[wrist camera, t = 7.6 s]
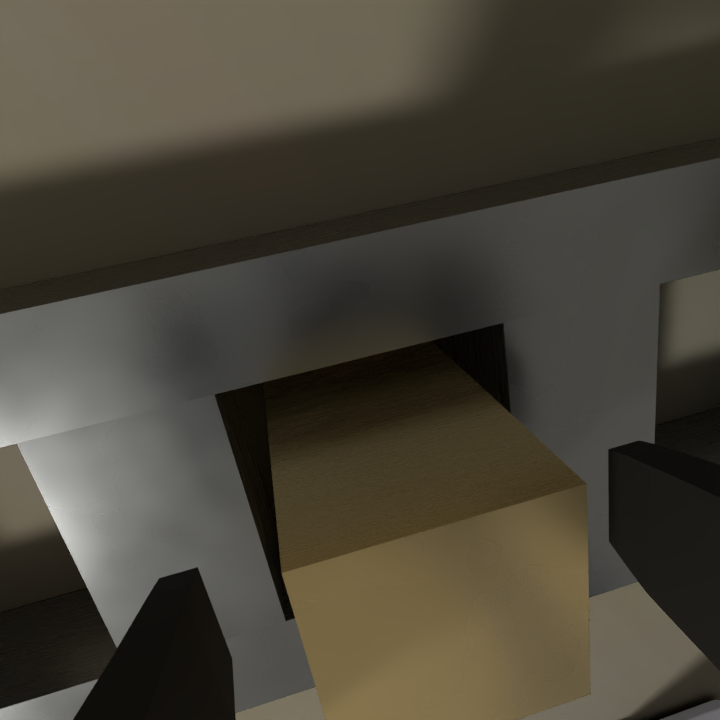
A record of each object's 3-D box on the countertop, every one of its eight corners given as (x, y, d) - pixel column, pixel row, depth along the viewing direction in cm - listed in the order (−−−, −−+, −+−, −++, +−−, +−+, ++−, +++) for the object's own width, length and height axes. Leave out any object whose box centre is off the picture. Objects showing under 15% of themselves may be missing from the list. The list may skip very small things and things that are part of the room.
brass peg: (438, 463, 15) (590, 694, 8) (297, 502, 14) (343, 780, 8) (419, 329, 13) (587, 483, 7) (261, 367, 13) (281, 573, 6)
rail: (797, 442, 17) (902, 495, 15) (-127, 721, 14) (-220, 861, 11) (848, 110, 14) (1002, 96, 11) (-401, 375, 10) (-644, 453, 7)
